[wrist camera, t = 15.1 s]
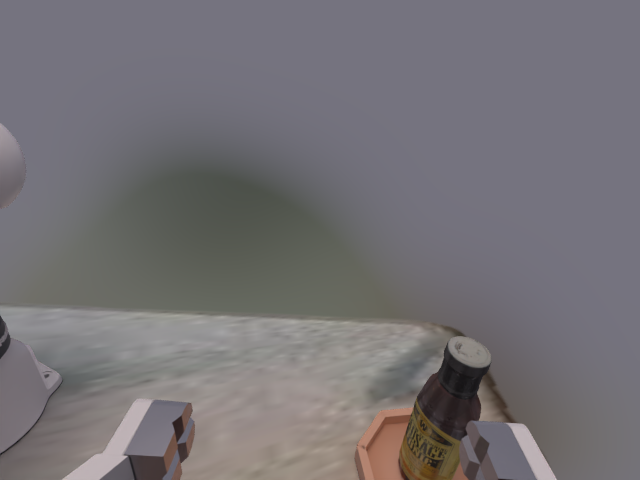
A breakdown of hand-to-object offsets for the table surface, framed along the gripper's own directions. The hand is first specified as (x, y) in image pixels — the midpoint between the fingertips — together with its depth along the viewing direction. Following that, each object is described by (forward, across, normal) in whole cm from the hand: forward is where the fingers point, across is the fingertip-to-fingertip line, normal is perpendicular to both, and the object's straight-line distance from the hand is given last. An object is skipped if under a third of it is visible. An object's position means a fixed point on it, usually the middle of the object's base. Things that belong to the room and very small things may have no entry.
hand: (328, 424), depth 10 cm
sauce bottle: (+19, -14, +33) cm, 40 cm away
